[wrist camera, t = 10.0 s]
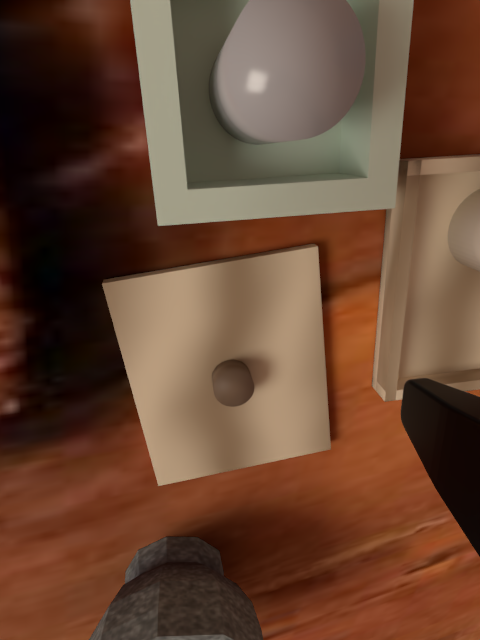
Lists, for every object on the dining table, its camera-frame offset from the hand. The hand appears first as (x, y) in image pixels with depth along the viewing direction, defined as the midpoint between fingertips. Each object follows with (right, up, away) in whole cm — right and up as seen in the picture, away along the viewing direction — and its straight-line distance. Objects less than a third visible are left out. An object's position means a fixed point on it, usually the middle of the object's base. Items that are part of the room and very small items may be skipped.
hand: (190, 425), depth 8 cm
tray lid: (0, -1, +14) cm, 14 cm away
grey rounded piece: (+2, +11, +9) cm, 14 cm away
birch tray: (+13, +4, +14) cm, 20 cm away
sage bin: (+2, +12, +9) cm, 15 cm away
